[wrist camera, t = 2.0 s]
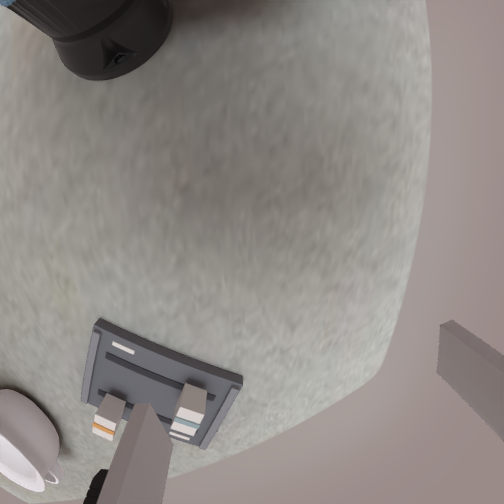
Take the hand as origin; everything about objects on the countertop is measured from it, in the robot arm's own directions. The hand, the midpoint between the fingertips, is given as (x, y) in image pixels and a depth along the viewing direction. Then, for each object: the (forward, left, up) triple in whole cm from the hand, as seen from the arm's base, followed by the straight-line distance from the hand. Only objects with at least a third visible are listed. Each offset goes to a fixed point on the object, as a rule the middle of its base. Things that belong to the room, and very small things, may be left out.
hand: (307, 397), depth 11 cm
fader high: (-1, -18, -21) cm, 28 cm away
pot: (-27, -45, -24) cm, 58 cm away
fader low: (-10, -25, -21) cm, 35 cm away
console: (-6, -22, -24) cm, 33 cm away
